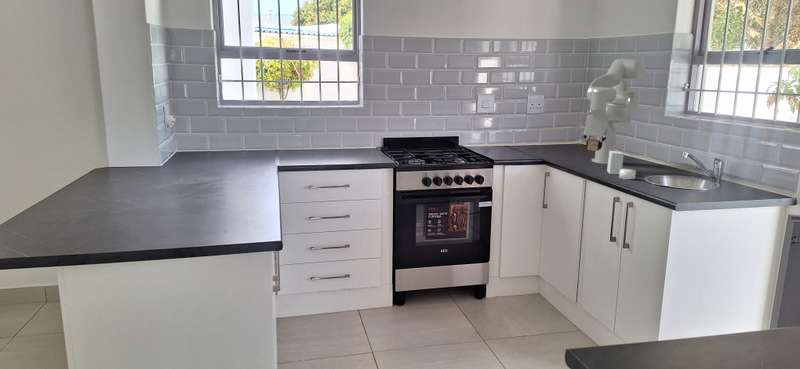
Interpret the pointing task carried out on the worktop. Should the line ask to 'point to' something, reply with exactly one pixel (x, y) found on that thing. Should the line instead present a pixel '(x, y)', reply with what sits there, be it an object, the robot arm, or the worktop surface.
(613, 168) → the small box
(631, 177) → the white small lump
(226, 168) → the worktop surface
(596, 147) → the walnut cube
